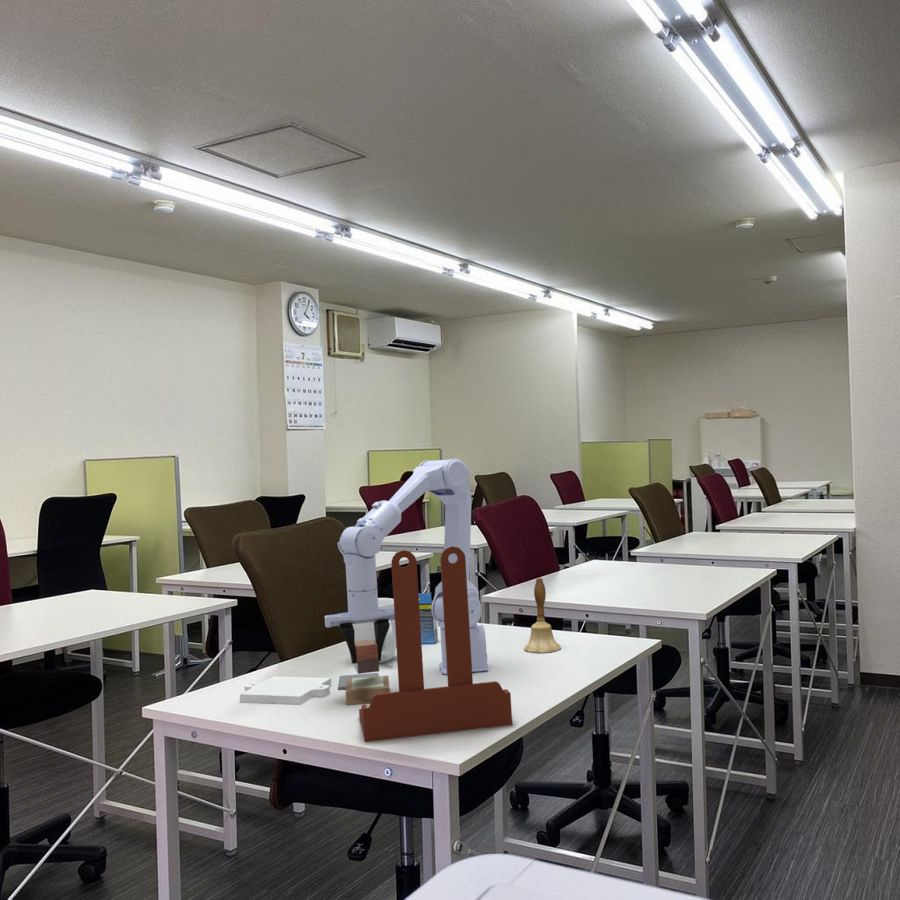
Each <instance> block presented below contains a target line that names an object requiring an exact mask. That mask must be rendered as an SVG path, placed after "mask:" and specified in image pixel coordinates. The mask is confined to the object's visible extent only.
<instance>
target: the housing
mask: <svg viewBox="0 0 900 900" xmlns="http://www.w3.org/2000/svg"><path fill="white" fill-rule="evenodd" d="M355 652H356V664H353V668H354V669H355V671H356V673H357V674H369V673H379V672H380V663H379V658H378V646H377V643H376V642H375V640H374V639H369V640H360V641H355Z"/></svg>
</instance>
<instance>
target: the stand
mask: <svg viewBox="0 0 900 900" xmlns="http://www.w3.org/2000/svg"><path fill="white" fill-rule="evenodd" d="M381 693H390V680H389V675H379V676H376V677H364V678H352V679H347V685H346V689H345V702H346V705H347V706H351V705H365V704H370V703H371V700H372V697H373V696H374V695H375V694H381Z"/></svg>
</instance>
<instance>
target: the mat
mask: <svg viewBox="0 0 900 900" xmlns="http://www.w3.org/2000/svg"><path fill="white" fill-rule="evenodd" d="M376 676H380V675H379V672H370V673H361V674H358V673H357V674H348V675H339V679H338V685H337V690H338V691H342V690H346V685H347V679H352V678H364V677H376Z"/></svg>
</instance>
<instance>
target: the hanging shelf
mask: <svg viewBox="0 0 900 900" xmlns="http://www.w3.org/2000/svg"><path fill="white" fill-rule="evenodd" d="M453 553H454V554H456V555H457V561H456V562H455V563H450V562H449V560H448V557H449V555H450V554H453ZM403 558H406V559H407V560H408V564H407V566H402V565H401V564H400V561H401V560H402V559H403ZM440 572H441V576H440V577H441V581H442V594H443V610H444V627H445V644H446V661H447V674H446V675H447V686H439V687H428V688H425V680H424V679H425V677H424V663H423V661H424V660H423V648H422V647H423V646H422V643H421V627H420V610H419V600H420V598H419V593H420V592H419V581H418V580H419V579H418V577H419V576H418V563H417V558H416V556H415V554H413V553H412V552H411V551H409V550H405V549H402V550H399V551H396V552H395V554H394V555H393V556H392V559H391V576H392V577H391V578H392V594H393V599H394V614H395V631H396V662H397V664H396V665H397V678H398V681H397V682H398V691H392V692H389V693H381V694H375V695H374V696H373V697H372V700H371V703H369V704H370V705H369V706H367V704H361V707H360V708H358V714H359V715H358V718H359V721H360V727H361V731H362V735H363V739H364V742H365V743H370V742H375V741H376V742H377V741H387V740H393V739H401V738H402V739H403V738H404V739H405V738H412V737H419V736H420V737H421V736H428V735H429V736H430V735H436V734H437V735H438V734H445V733H447V734H448V733H454V732H464V731H470V730H471V731H472V730H480V729H488V728H495V727H496V728H497V727H505V726H513V715H512V711H513V710H512V698H511V696H512V695H511V692H510V691H509V690H508V689H503V688H502V686H501V684H500V683H499V682H498V681H486V682H477V683H474V679H473V672H472V661H471V644H470V627H469V611H468V594H467V577H466V561H465V554H464V552H463V551H462V550H461V549H460V548H458V547H453V546H451V547H449V548H446V549H445V550H444V549H443V551H442V552H441V554H440Z"/></svg>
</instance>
